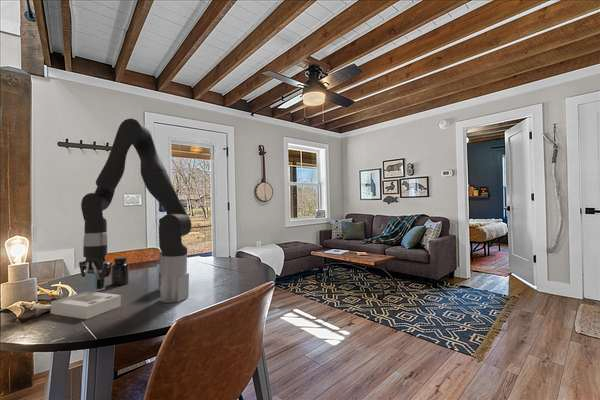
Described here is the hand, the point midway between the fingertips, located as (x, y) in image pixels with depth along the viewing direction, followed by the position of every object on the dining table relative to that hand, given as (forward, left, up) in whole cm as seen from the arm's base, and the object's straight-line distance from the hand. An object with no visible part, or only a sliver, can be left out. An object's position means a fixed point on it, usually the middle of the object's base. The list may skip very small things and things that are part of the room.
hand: (95, 288), depth 107 cm
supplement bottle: (+9, -18, -4) cm, 21 cm away
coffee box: (-17, -20, -4) cm, 27 cm away
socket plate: (-9, +10, -4) cm, 14 cm away
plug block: (0, 0, -1) cm, 1 cm away
